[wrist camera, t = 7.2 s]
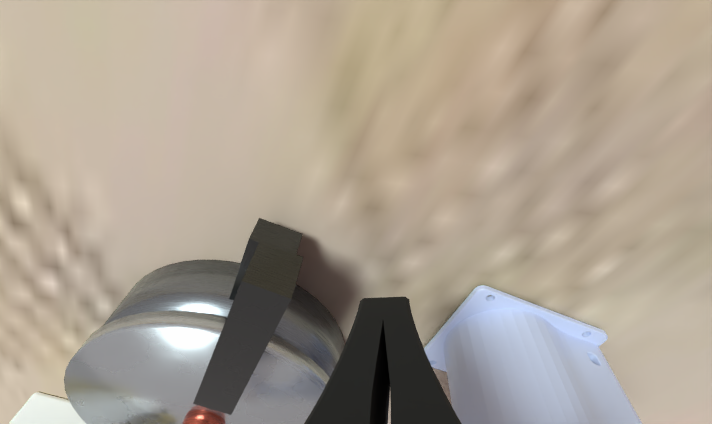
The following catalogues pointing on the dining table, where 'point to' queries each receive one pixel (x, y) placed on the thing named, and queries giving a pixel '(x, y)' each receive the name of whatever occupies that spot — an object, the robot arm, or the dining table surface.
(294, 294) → the cooker pot
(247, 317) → the cooker lid
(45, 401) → the medicine bottle
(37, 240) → the dining table surface
